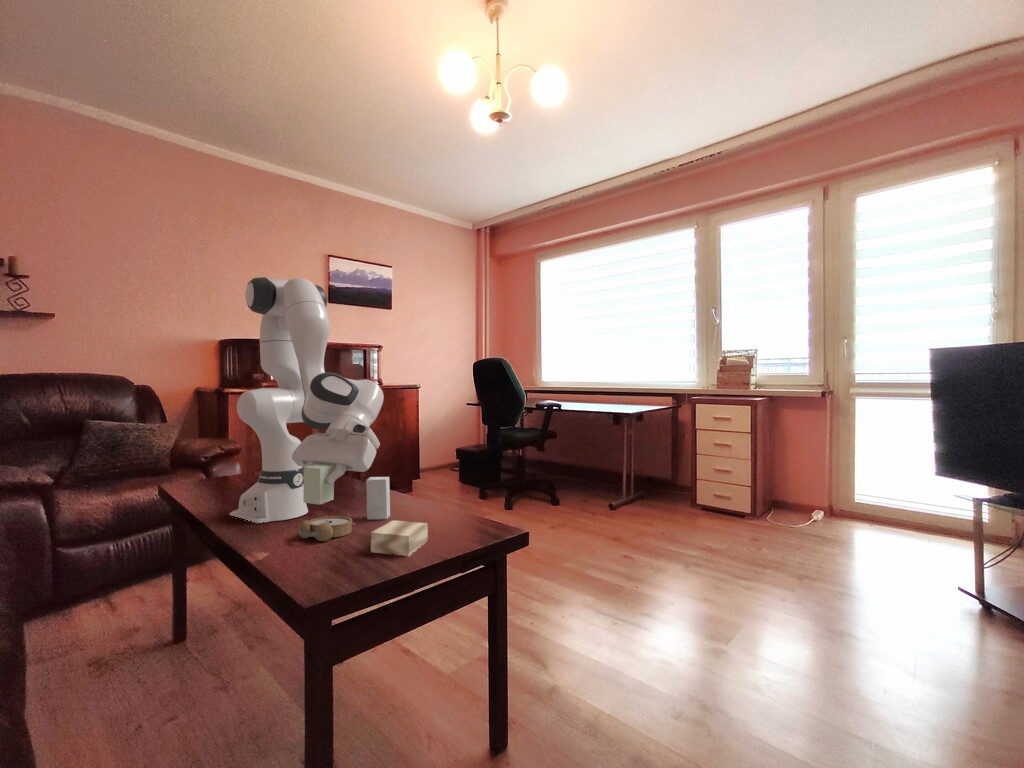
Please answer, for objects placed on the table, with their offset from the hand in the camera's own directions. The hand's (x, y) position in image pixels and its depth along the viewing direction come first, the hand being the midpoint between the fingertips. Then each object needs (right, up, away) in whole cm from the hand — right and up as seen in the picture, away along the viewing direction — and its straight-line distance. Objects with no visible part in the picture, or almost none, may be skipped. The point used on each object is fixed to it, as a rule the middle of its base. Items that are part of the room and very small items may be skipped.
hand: (317, 482), depth 101 cm
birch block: (+17, -18, +9) cm, 26 cm away
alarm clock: (-6, -18, +18) cm, 26 cm away
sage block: (0, -4, +1) cm, 4 cm away
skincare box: (+4, -18, +33) cm, 38 cm away
